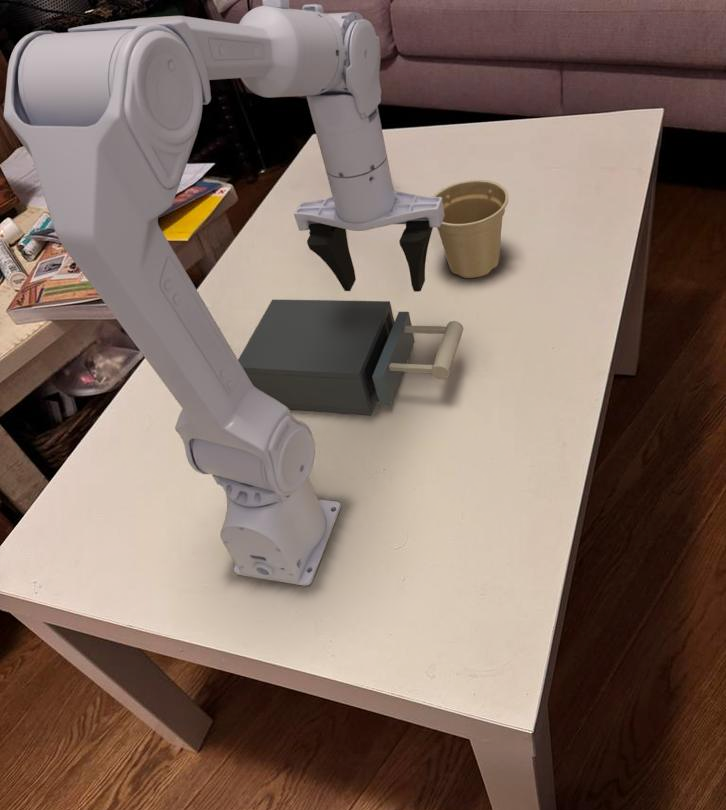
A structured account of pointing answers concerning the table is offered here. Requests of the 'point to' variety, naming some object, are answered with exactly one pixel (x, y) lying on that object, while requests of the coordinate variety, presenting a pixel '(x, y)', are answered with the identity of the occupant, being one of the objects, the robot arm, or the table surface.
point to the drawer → (406, 355)
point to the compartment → (316, 353)
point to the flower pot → (472, 226)
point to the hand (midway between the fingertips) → (384, 285)
